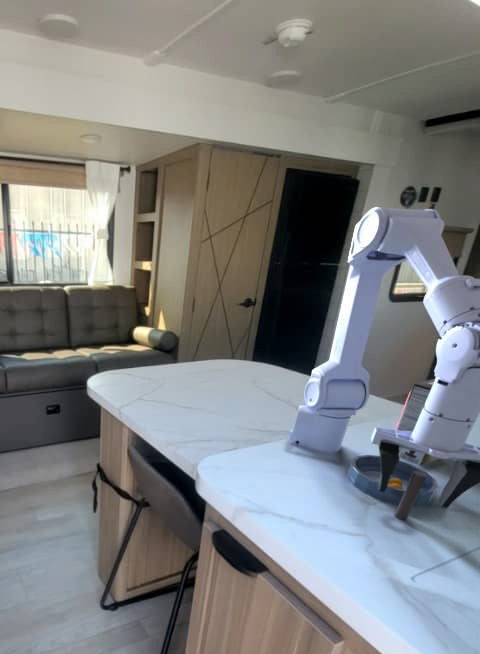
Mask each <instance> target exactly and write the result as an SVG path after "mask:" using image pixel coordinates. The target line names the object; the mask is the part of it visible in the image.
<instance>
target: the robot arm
mask: <svg viewBox="0 0 480 654" xmlns="http://www.w3.org/2000/svg"><path fill="white" fill-rule="evenodd" d="M445 225H446V223H445V222H444V220H442V218H441V215H440V214H439V212H438V211H437V210H436V209H433V208H428V209H427V208H425V209H411V208H409V209H408V208H387V207H386V208H385V207H382V206H375V207H372V208H371V209H370V210H369V211H367V212H366V213H365V214H364V215H363V217H362V218H361V219H360V221H358V222H357V223H356V224H355V226H354V231H353V235H352V239H351V245H350V249H349V254H348V258H347V259H348V260H347V263H348V264H349V269H348V273H347V279H346V283H345V287H344V292H343V295H342V300H341V305H340V309H339V315H338V318H337V322H336V323H337V324H336V327H335V332H334V337H333V340H332V341H333V342H332V344H331V345H332V346H331V349H330V354H329V358H328V360H327V361H325V362H324V363H321V364H320V365H318V366H317V367H315V368H313V369H311V375H310V378H309V380H308V382H307V383H306V385H305V388H304V391H303V392H304V393H303V397H304V403H305V404H306V405H302V404H301V405H299V408H298V412H297V416H296V419H295V422H294V427H293V429H291V430H290V434H289V439H290V442H289V444H290V445H291V444H292V445H296V446H299V447H304V448H307V449H310V450H313V451H317V452H320V453H327V454H330V453H331V454H332V453H337V452H340V450H341V447H342V443H343V440H344V437H345V434H346V432H347V429H348V426H349V423H350V420H351V417H352V416H356V415H357V411H361V410H362V409H363V408H364V407H365V406H366V405H367V403H368V402H369V399H370V379H371V374H370V373H369V372H368V370H366V369H365V367H364V366H363V365H362V361H363V358H364V353H365V350H366V346H367V343H368V342H367V341H368V337H369V334H370V333H369V332H370V329H371V325H372V321H373V318H374V315H375V310H376V307H377V302H378V298H379V294H380V291H381V285H382V283H383V278H384V275H385V274H386V273H387V272H388V271H390V269H392V268H393V267H395V266H398V265H401V264H402V263H404V262H406V261H407V262H408V263H409V264H410V266H411V267H412V269H413V271H414V272H415V274H417V276H418V277H419V279H420V281H421V282H422V283H423V285H424V286H425V288H426V289H427V292H426V294H425V295H424V298H423V301H422V302H423V305H424V306H423V307H425V310H426V311H427V313H428V315H429V318H430V319H431V321H432V323H433V325H434V327H435V329H436V331H437V332H438V334H439V337H440V338H441V339H437V343H436V347H435V355H436V365H435V368H434V370H433V372H434V377H435V378H434V379H435V381H434V384H433V386H432V388H431V391H430V393H429V395H428V398H427V400H426V402H425V405H424V407H423V409H422V412H421V414H420V416H419V419H418V421H417V423H416V426H415V428H414V431H413V432H411V431H400V430H395V429H390V428H389V429H388V428H383V427H377V426H376V427H374V428H373V432H372V434H371V437H370V441H371V442H370V443H371V444H372V445H377V446H378V453H379V456H380V463H381V470H380V472H379V479H378V482H379V484H378V488H379V491H381V492H385V490H386V488H387V486H389V483H388V482H389V480H390V479H391V476H392V475H391V474H392V472H393V470H394V468H395V466H396V464H397V462H398V461H399V460H400V458H401V457H399V452H400V451H399V448H403V449H407V450H412V451H416V452H421V453H426V454H429V455H431V456H433V457H437V458H440V459H442V460H454V461H455V463H454V466H453V469H452V471H451V474H450V476H449V478H448V481H447V483H446V485H445V486H444V488H443V489H442V491H441V493H440V495H439V499H438V502H439V505H440V507H441V508H443V509H448V508H449V507H450V506H451V505H452V504H453V502H455V501H456V500H457V499H458V498H460V497H461V495H463V494H464V493H465V492H467V491H468V490H470V489H472V488H473V487H475V486H477V485H479V484H480V446H476V445H473V444H469V443H466V442H467V440H468V437H469V435H470V434H471V431H472V430H473V427H474V426H475V423H476V421H477V419H478V417H479V415H480V278H475V277H474V276H471V275H460V274H459V272H458V269H457V266H456V264H455V262H454V260H453V257H452V256H451V254H450V251H449V249H448V247H447V244H446V242H445V241H444V238H443V236H442V234H443V231H444V229H445ZM297 442H298V443H297Z"/></svg>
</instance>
